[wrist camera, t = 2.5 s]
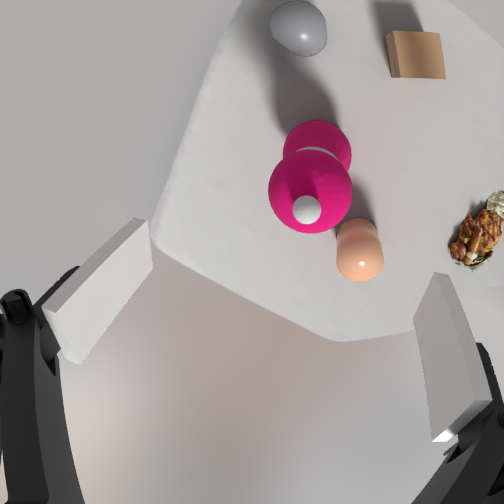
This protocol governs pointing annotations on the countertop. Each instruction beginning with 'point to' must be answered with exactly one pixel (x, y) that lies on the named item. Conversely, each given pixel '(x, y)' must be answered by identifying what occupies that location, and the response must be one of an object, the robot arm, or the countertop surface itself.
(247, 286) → the countertop surface
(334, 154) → the pepper mill
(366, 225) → the peach rounded cylinder
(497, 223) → the brown lumpy mound
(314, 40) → the grey cylinder
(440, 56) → the tan block
